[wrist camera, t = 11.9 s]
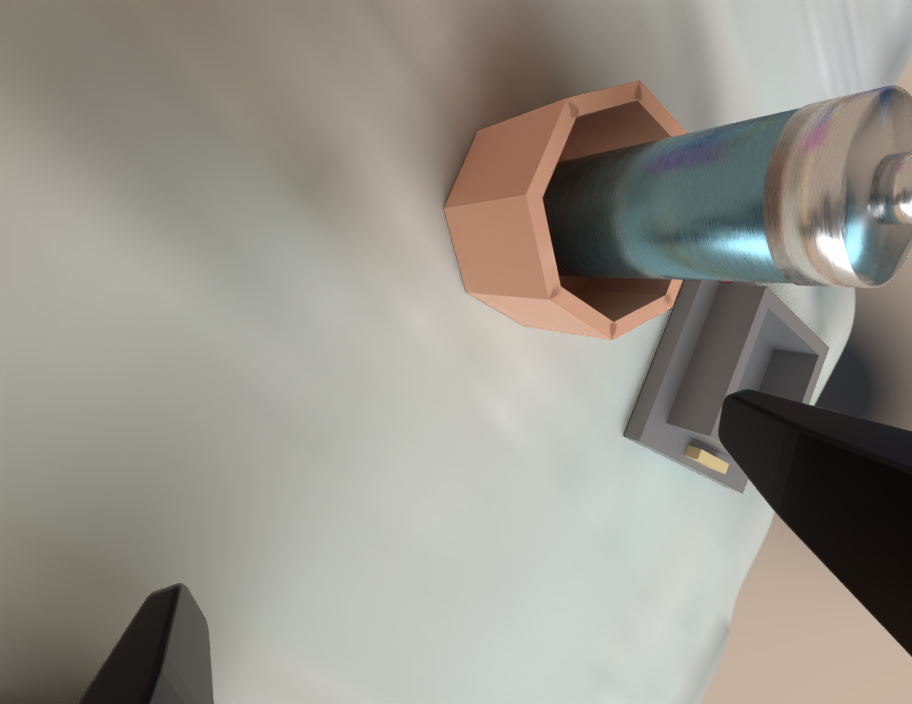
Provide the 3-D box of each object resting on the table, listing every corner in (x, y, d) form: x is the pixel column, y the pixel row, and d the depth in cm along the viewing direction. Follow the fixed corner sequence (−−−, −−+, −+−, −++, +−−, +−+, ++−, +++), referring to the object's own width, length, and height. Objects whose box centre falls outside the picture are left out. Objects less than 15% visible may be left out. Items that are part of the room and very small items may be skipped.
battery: (579, 275, 24) (952, 287, 13) (498, 276, 22) (871, 291, 11) (584, 170, 23) (982, 94, 13) (500, 160, 21) (902, 54, 10)
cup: (560, 347, 25) (649, 364, 21) (418, 264, 21) (495, 265, 16) (624, 188, 26) (723, 174, 21) (501, 76, 21) (595, 31, 17)
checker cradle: (727, 487, 34) (785, 509, 31) (623, 436, 28) (682, 456, 25) (786, 328, 35) (847, 334, 32) (697, 246, 29) (762, 244, 26)
